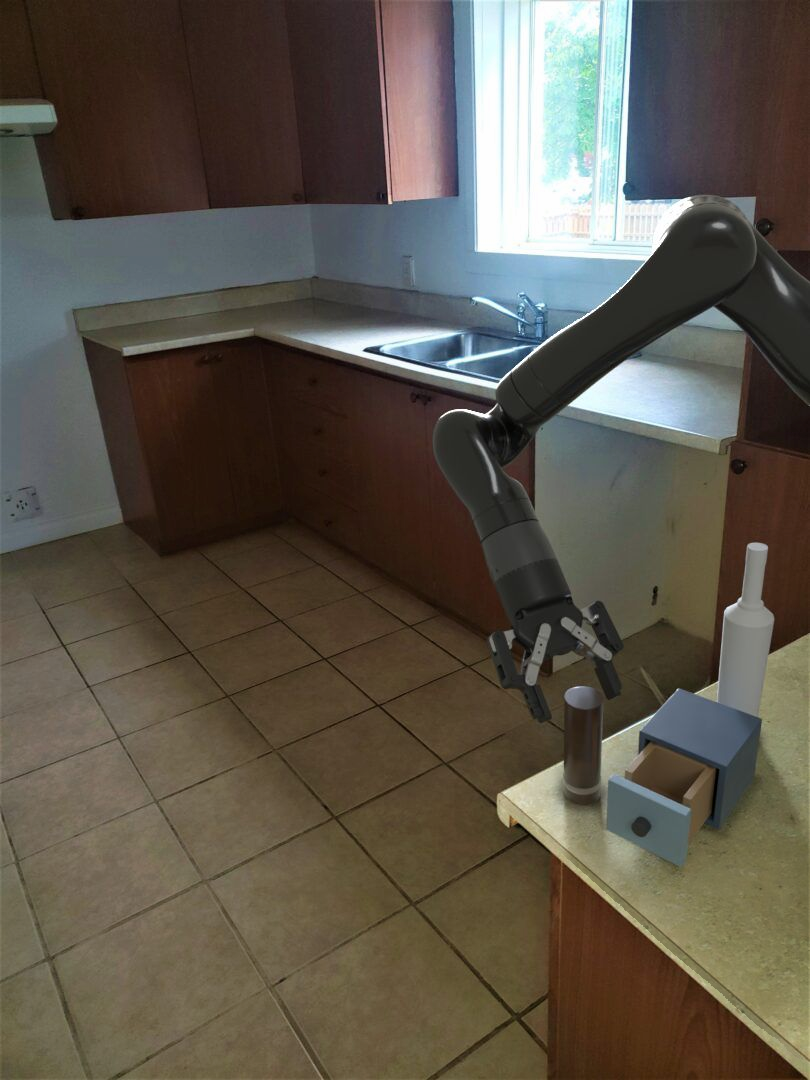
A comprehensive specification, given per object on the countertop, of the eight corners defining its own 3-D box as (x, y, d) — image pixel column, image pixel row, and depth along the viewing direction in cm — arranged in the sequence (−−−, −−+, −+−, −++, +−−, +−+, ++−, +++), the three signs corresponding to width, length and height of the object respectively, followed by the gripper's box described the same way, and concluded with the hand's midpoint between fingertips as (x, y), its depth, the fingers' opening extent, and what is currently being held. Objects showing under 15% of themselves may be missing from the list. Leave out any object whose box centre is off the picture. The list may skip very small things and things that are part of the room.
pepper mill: (586, 775, 93) (589, 681, 88) (607, 798, 90) (611, 702, 84) (555, 787, 92) (556, 692, 86) (576, 810, 88) (578, 714, 83)
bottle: (708, 741, 97) (729, 554, 86) (714, 716, 101) (734, 533, 90) (755, 752, 95) (782, 560, 84) (759, 725, 99) (785, 539, 88)
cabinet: (719, 830, 84) (726, 767, 81) (635, 791, 90) (639, 730, 87) (753, 779, 91) (762, 718, 87) (673, 746, 96) (678, 687, 93)
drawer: (675, 875, 79) (680, 823, 76) (599, 836, 84) (601, 786, 81) (716, 817, 85) (722, 767, 82) (644, 784, 90) (647, 735, 87)
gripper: (478, 574, 85) (535, 723, 81) (593, 543, 90) (653, 682, 85) (458, 596, 92) (510, 735, 87) (565, 566, 97) (620, 697, 92)
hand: (581, 709), depth 86 cm, fingers open, 8 cm apart
